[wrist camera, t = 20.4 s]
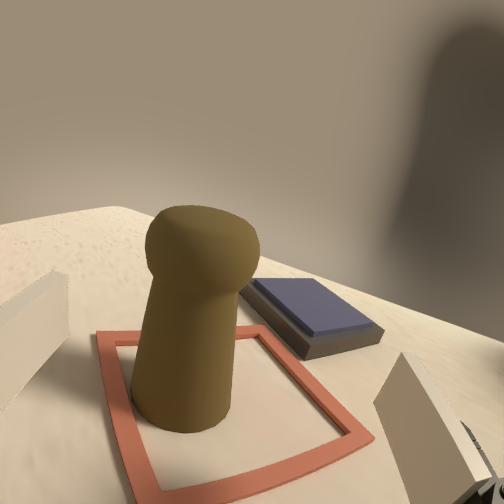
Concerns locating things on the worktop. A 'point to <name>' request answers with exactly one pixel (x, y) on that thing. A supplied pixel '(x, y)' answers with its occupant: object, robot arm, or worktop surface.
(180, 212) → the cork
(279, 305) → the ink pad
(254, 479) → the marked square
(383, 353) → the worktop surface
